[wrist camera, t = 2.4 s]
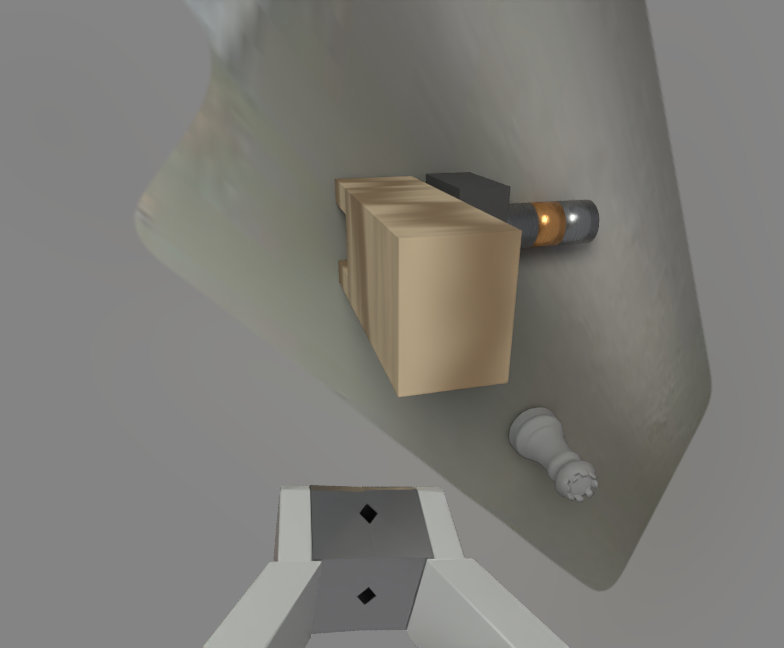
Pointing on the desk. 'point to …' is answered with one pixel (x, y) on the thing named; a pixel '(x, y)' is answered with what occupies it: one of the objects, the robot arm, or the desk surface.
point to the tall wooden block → (429, 283)
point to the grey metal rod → (554, 222)
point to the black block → (474, 192)
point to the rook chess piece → (552, 452)
